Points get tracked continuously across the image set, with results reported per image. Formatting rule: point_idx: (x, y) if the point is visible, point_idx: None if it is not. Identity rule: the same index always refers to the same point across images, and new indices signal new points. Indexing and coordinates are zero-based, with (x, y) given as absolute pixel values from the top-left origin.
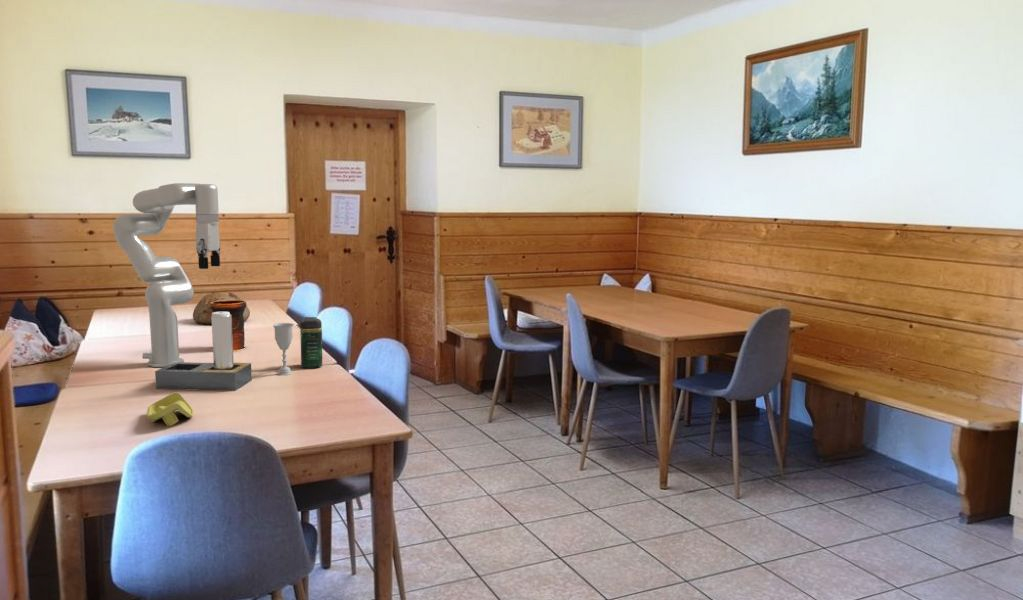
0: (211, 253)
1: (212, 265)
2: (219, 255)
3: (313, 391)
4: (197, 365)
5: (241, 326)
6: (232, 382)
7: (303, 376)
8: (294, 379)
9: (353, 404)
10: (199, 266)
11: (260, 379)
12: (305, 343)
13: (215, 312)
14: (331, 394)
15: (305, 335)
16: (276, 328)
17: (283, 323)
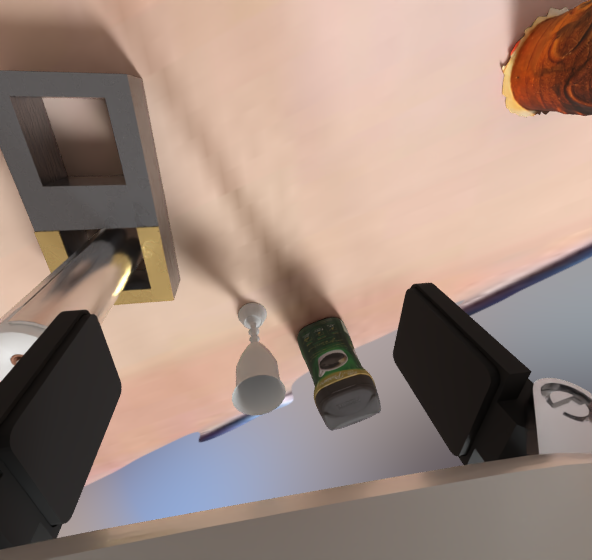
0: (534, 411)
1: (405, 303)
2: (477, 460)
3: (131, 401)
4: (123, 168)
5: (590, 111)
6: None
7: (235, 351)
8: (208, 346)
9: None
10: (54, 331)
11: (194, 291)
12: (311, 369)
13: (17, 339)
14: (122, 427)
15: (315, 383)
16: (238, 382)
17: (283, 386)
